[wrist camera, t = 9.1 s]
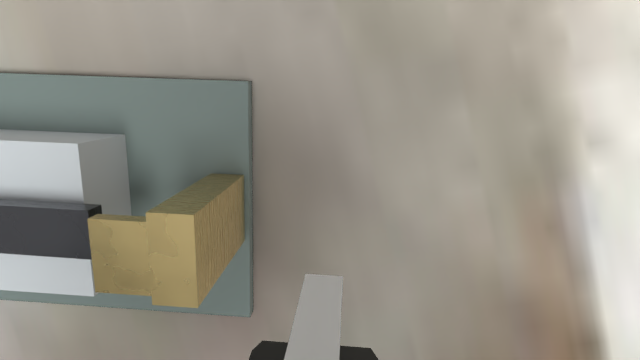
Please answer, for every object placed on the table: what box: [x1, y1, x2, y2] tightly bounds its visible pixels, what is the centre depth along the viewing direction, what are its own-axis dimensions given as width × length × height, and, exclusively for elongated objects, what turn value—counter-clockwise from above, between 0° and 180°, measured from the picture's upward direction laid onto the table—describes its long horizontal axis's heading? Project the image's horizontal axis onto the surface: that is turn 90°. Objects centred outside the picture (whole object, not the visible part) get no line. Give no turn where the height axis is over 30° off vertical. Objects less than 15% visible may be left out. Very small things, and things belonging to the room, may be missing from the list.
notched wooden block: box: [87, 173, 245, 308], centre depth 24 cm, size 5×5×9 cm
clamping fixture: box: [0, 73, 253, 317], centre depth 26 cm, size 29×18×8 cm, turn 88°
